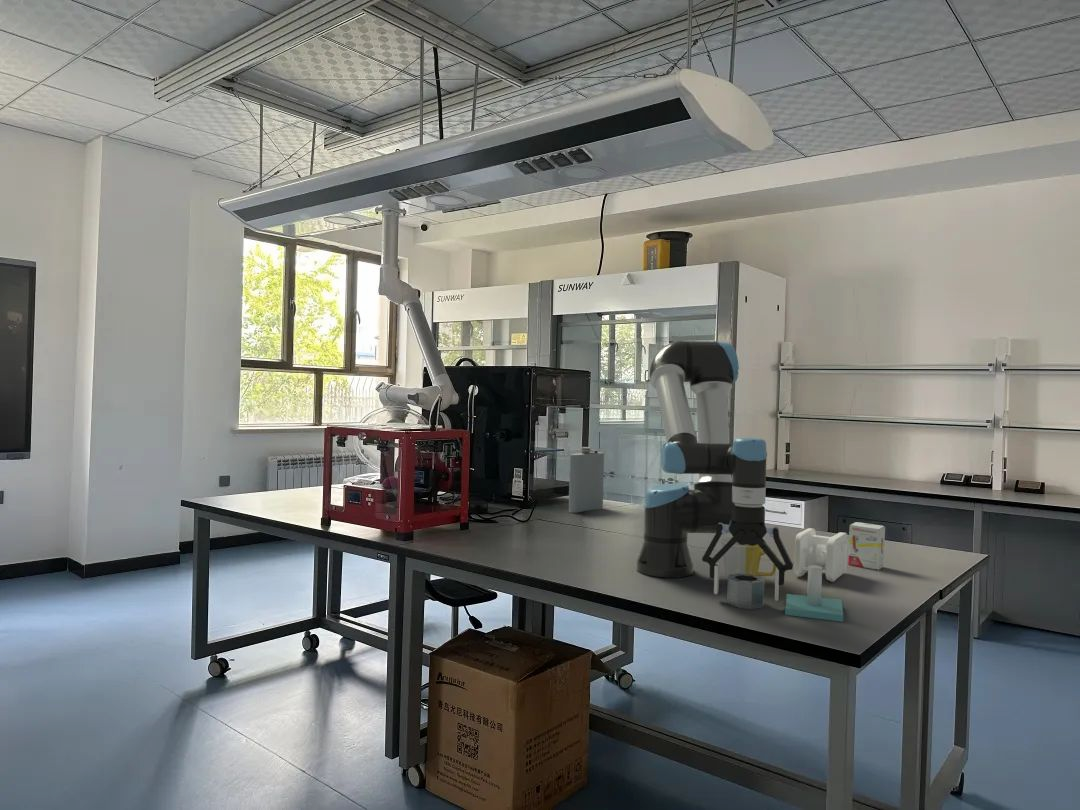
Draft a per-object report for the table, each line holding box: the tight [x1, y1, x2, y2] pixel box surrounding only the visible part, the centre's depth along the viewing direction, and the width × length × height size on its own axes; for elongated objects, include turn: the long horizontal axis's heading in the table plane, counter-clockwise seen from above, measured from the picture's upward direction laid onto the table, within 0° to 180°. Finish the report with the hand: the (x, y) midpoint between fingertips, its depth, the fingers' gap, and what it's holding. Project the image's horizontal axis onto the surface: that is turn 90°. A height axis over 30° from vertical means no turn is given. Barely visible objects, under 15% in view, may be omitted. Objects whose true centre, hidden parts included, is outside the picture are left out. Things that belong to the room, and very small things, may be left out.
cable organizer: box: [793, 527, 849, 583], centre depth 200 cm, size 15×11×12 cm
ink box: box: [847, 521, 886, 570], centre depth 212 cm, size 9×5×12 cm, turn 49°
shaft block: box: [784, 565, 844, 623], centre depth 169 cm, size 12×12×10 cm
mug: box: [721, 537, 778, 579], centre depth 191 cm, size 14×10×10 cm
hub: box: [726, 573, 765, 610], centre depth 173 cm, size 8×8×6 cm
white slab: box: [568, 446, 605, 514], centre depth 295 cm, size 17×5×25 cm, turn 132°
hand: (746, 595), depth 173 cm, fingers open, 13 cm apart
